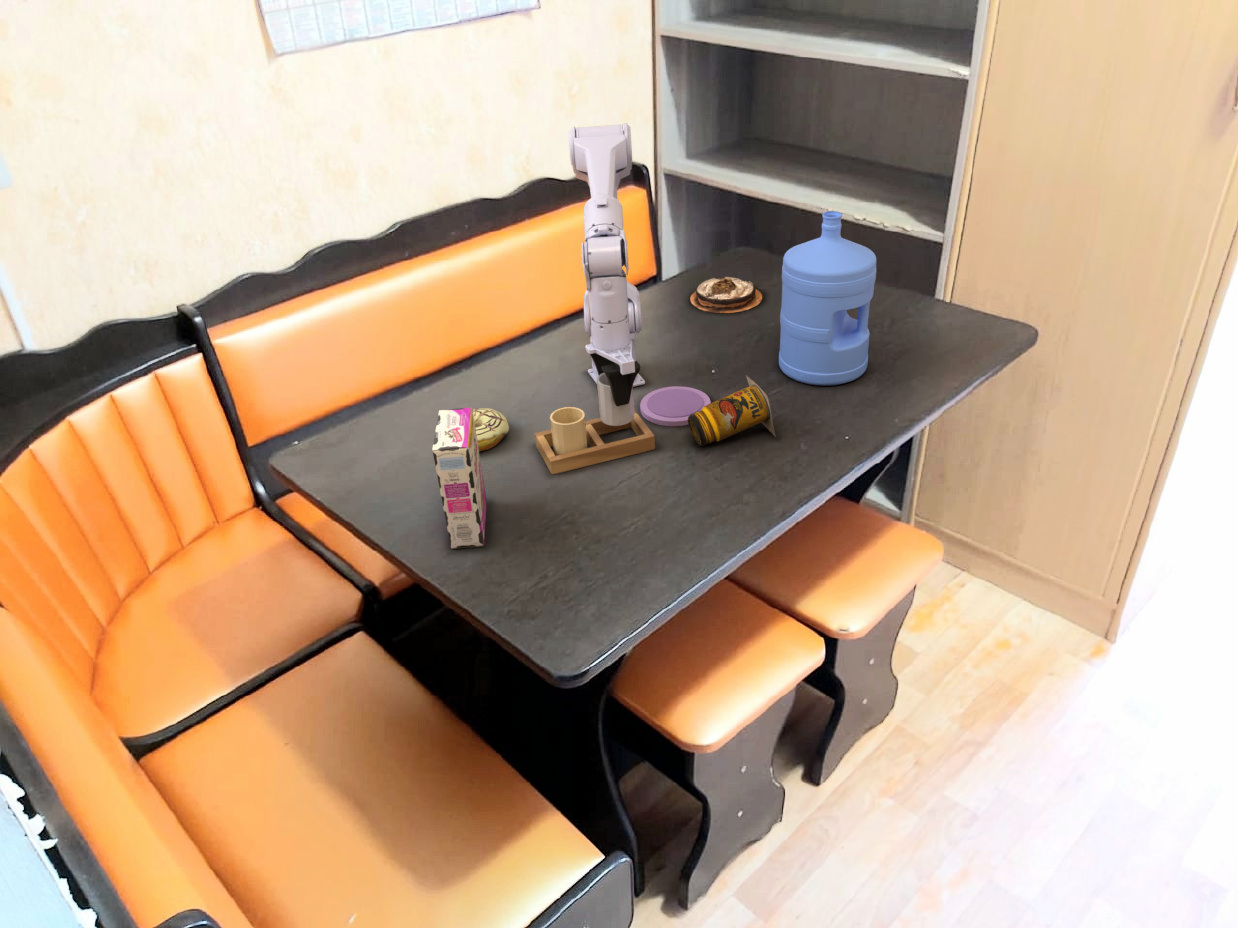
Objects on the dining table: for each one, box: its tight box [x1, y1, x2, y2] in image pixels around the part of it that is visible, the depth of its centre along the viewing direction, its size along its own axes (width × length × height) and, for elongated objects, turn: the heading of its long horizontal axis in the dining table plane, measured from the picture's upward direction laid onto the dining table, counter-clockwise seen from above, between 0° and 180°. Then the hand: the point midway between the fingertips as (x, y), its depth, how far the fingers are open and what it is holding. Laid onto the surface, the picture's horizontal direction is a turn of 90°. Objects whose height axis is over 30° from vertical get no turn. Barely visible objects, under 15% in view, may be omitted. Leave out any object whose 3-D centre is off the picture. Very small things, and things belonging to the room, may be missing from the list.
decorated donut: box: [472, 407, 510, 452], centre depth 151 cm, size 10×11×4 cm
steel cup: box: [596, 373, 635, 426], centre depth 144 cm, size 5×5×7 cm
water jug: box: [778, 210, 877, 387], centre depth 158 cm, size 16×16×28 cm
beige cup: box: [549, 406, 589, 456], centre depth 145 cm, size 5×5×7 cm
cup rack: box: [534, 409, 656, 475], centre depth 147 cm, size 9×17×2 cm, turn 110°
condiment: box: [688, 374, 777, 447], centre depth 146 cm, size 7×8×12 cm
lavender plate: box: [639, 385, 712, 427], centre depth 156 cm, size 12×12×1 cm
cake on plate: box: [690, 276, 763, 314], centre depth 193 cm, size 15×15×4 cm
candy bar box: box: [431, 407, 488, 550], centre depth 128 cm, size 11×5×16 cm, turn 5°
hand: (615, 395), depth 144 cm, fingers closed on steel cup, 5 cm apart
